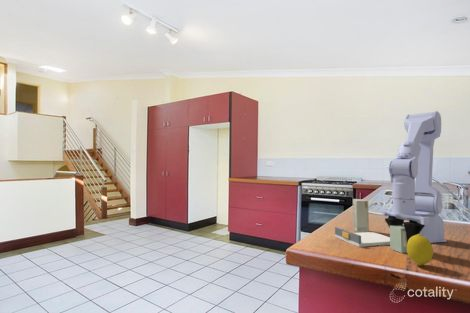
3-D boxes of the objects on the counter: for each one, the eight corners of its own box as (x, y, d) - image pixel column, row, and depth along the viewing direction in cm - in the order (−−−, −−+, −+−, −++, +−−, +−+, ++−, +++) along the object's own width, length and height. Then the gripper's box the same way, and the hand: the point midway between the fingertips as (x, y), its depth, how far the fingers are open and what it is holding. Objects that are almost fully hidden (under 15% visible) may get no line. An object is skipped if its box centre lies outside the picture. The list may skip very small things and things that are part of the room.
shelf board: (372, 234, 99) (372, 225, 99) (400, 243, 87) (400, 233, 87) (334, 237, 94) (334, 227, 95) (357, 247, 83) (357, 235, 83)
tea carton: (390, 249, 81) (389, 225, 82) (405, 247, 83) (405, 224, 83) (402, 253, 77) (402, 228, 77) (419, 251, 79) (418, 227, 79)
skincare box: (369, 233, 100) (369, 201, 100) (356, 233, 101) (356, 200, 101) (364, 230, 106) (364, 199, 106) (352, 229, 107) (352, 198, 107)
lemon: (438, 270, 64) (437, 237, 65) (412, 268, 65) (412, 236, 66) (426, 262, 70) (425, 231, 70) (402, 261, 71) (402, 230, 71)
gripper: (374, 196, 87) (374, 238, 86) (414, 202, 73) (415, 252, 72) (392, 195, 88) (392, 237, 88) (435, 201, 74) (435, 250, 74)
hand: (404, 244), depth 80 cm, fingers closed on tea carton, 4 cm apart
